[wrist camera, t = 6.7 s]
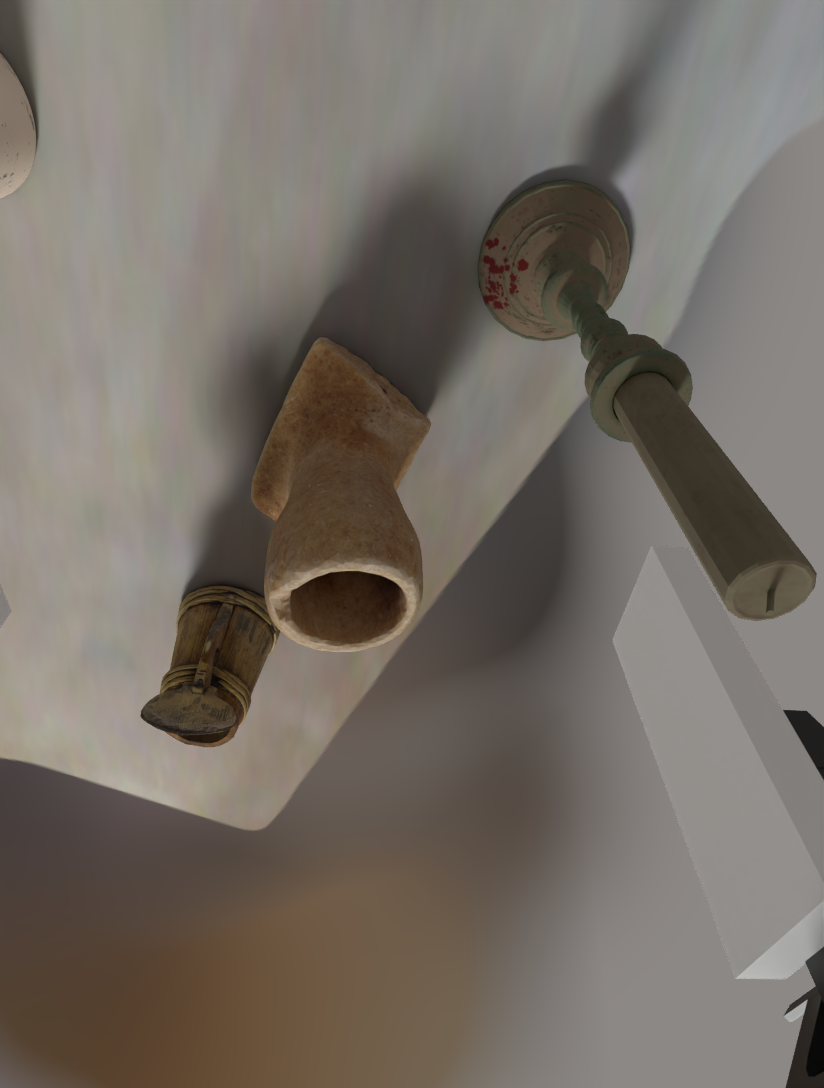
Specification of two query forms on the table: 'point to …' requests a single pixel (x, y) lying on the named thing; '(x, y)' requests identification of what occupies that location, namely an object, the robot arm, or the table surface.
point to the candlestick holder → (636, 386)
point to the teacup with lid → (14, 131)
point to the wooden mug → (213, 665)
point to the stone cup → (340, 506)
